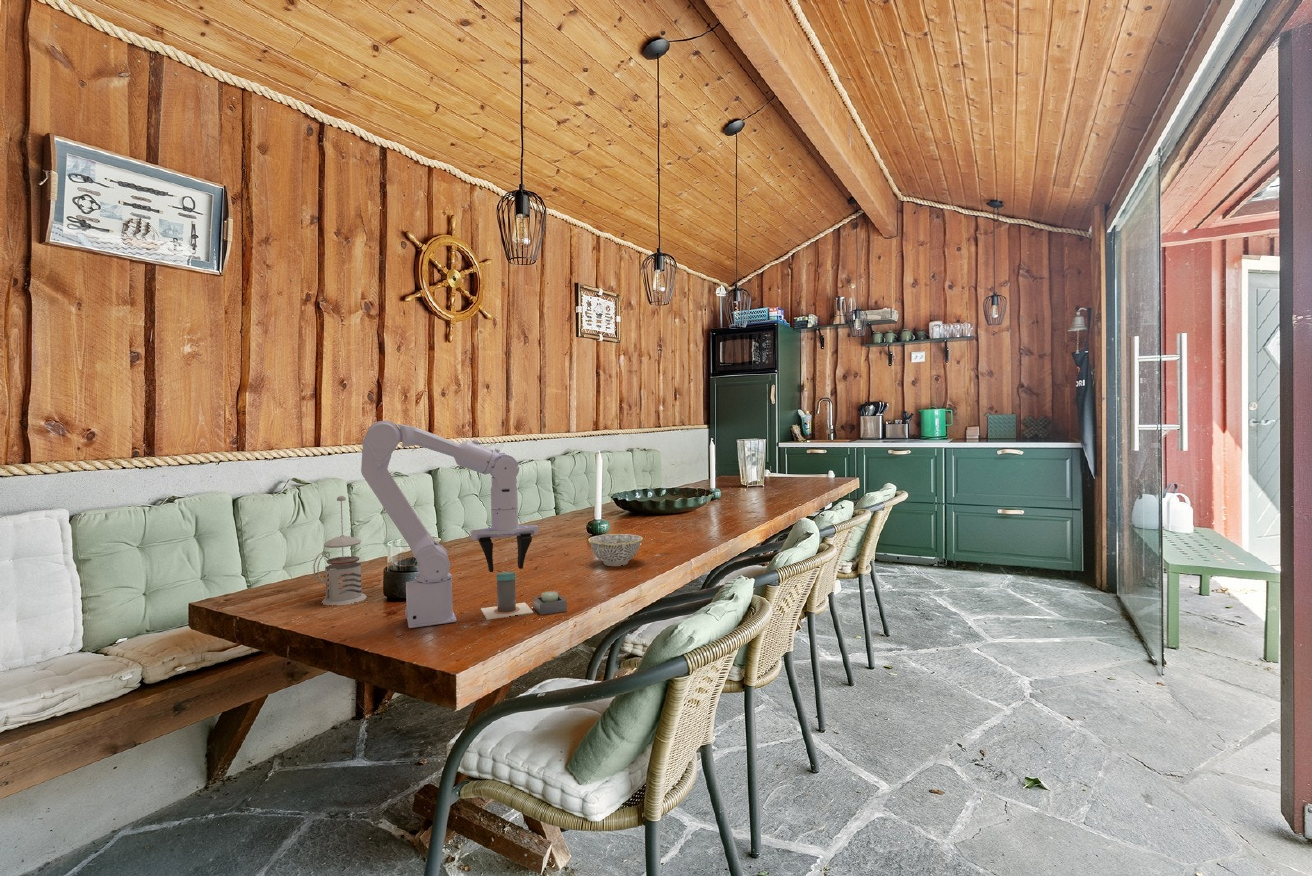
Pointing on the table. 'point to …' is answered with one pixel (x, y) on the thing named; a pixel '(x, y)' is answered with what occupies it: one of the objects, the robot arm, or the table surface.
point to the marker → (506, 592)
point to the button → (549, 596)
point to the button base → (549, 605)
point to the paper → (494, 614)
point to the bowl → (615, 548)
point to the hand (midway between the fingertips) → (505, 569)
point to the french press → (342, 572)
